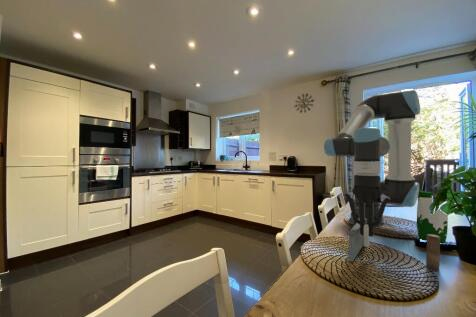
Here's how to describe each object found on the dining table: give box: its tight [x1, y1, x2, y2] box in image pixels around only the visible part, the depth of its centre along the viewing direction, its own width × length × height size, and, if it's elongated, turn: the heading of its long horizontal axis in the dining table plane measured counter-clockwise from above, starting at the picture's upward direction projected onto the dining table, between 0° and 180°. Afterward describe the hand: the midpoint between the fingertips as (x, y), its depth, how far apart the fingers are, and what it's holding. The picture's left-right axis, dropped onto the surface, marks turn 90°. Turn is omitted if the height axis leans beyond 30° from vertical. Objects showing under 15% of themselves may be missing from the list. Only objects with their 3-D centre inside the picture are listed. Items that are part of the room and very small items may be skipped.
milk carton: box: [416, 190, 449, 244], centre depth 85 cm, size 9×9×20 cm
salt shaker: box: [347, 205, 359, 231], centre depth 98 cm, size 6×6×12 cm
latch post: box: [425, 234, 441, 272], centre depth 65 cm, size 3×3×10 cm
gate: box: [347, 223, 364, 262], centre depth 74 cm, size 16×2×9 cm, turn 139°
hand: (366, 245), depth 71 cm, fingers closed
